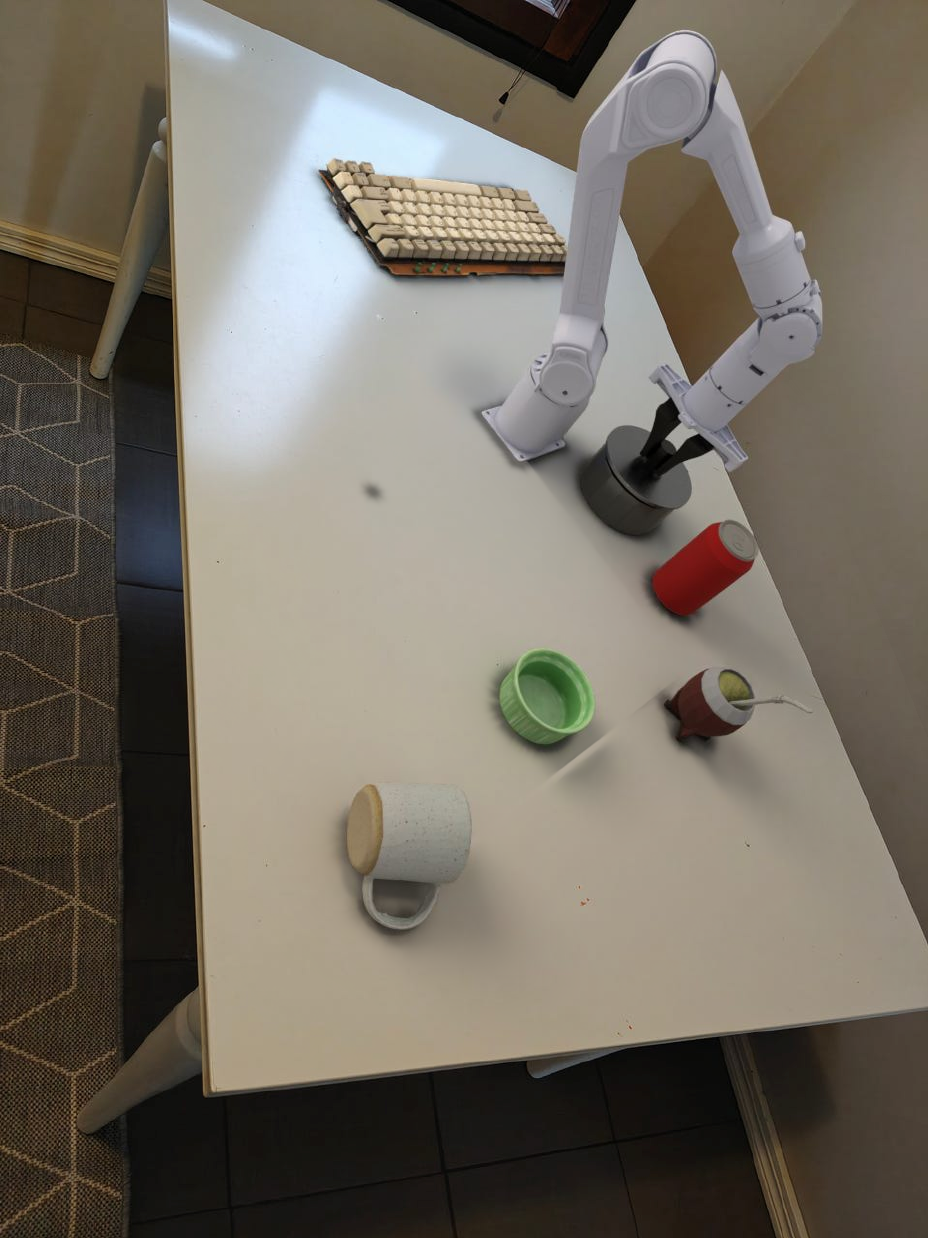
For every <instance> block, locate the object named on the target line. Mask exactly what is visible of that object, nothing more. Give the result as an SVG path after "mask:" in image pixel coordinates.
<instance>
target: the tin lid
mask: <svg viewBox="0 0 928 1238" xmlns="http://www.w3.org/2000/svg"><path fill="white" fill-rule="evenodd" d="M650 433H651V431H649V430H647V429H645V428H643V427H640V426H636V425H632V424H631V425H630V424H623V425H619V426H616V427H615V428H613V429H612V430H611V431H610V432H609V434H608V435H607V437H606V440H605V443H606V444H605V443H604V444H605V450H606V456H607V459H608V462H609V464H610V466H611V468H612V470H613V472H614V473H615V475H616V477H617V478H618V479H619V480H620V482H621V483H622V484H623V485H624V486H625V487H626V488H627V489H628V490H629V491H630V492H631V493H632V494H633V495H635V496H636V497H637V498H639V499H640V500H642V501H643V502H645V503H647V504H649V505H651V506H653V507H656V508H659V509H663V510H673V511H674V510H675V511H676V510H679V509H681V508H682V507H684V506H685V505H686V504H687V503H688V502H689V501H690V499H691V496H692V490H693V486H692V480H691V476H690V474H689V471H688V469H687V467H686V465H685V463H684V462H682V463H680V464H678V465H676V466H675V467H673V468H672V469H670V470H669V471H668V472H667V473H665V474H663V475H661V476H658V475H657V474H656V473H655V472H656V471H657V469H658V468H659V467H660V466H662V465H663V464H664V463H665V462H666V461H667V460H669V459H670V458H671V457H672V456H673V455H674V454H675V453H676V451H677V450H678V449H677V447H676V446H675V445H674V443H673V442H671V441H670V440H668V439H667V438H666V439H663V440H661V441H660V442H659V443H658V444H657V445H656V446H655V447H654V448H653V449H652V450H651V451H650V452H649V453H648V454H647V456H645V457H642V456H641V455H640V452H641V450H642V449H643V447H644V445H645V443H646V442H647V439H648V437H649V435H650Z"/></svg>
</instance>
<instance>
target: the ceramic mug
mask: <svg viewBox="0 0 928 1238" xmlns="http://www.w3.org/2000/svg"><path fill="white" fill-rule="evenodd" d="M346 829H347V831H346V832H347V833H346V844H347V846H346V847H347V854H348V857H349V861H350V864H351V865H352V867H353V869H354V870H355V871H356V872H357V874H360V875H362V876H363V882H362V886H361V887H362V896H363V903H364V906H365V909H366V911H367V912H368V914H369V916H370V917H371V918H372V919H373V920H374V921H376V922H377V923H379V924H380V925H382V926H384V927H386V928H389V929H393V930H401V931H402V930H409V929H414V928H415V927H418V925H420V924H421V923H422V922H423V921H424V920H425V919H427V917H428V916H429V915H430V914H431V912H432V910H433V908H434V907H435V904H436V902H437V899H438V896H439V892H440V890H441V885H443V884H445V885H448V884H453V883H455V882H456V881H457V880H458V879H459V878H460V877H461V875H462V874H463V872H464V870H465V868H466V866H467V862H468V860H469V856H470V852H471V845H472V836H473V822H472V812H471V807H470V802H469V801H468V797H467V795H466V793H465V792H464V790H463V789H462V788H461V787H460V786H458V785H455V784H447V783H446V784H442V783H440V784H437V783H413V782H412V783H409V782H408V783H404V782H386V781H385V782H382V781H381V782H376V783H375V782H374V783H373V782H372V783H367V784H366V785H364V786H362V787H361V788H360V789H359V790H358V791H357V792H356V794H355V796H354V797H353V799H352V802H351V805H350V809H349V813H348V818H347V828H346ZM374 880H390V881H409V882H416V883H428V884H429V888H428V891H427V893H426V896H425V899H424V901H423V903H422V905H421V906H420V908H419V909H418V910H417V912H416V913H415V914H414V915H412V916H409V917H406V918H405V917H397V916H391V915H389V914H388V913H386V912H380V911H378V909H377V908H376V905H375V903H374V895H373V888H374V884H373V883H374Z"/></svg>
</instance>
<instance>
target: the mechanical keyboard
mask: <svg viewBox="0 0 928 1238" xmlns="http://www.w3.org/2000/svg"><path fill="white" fill-rule="evenodd" d="M325 166H326V169H318V170H317V172H318V173H319V175H320V176H321V178H322V179H323V180H324V182H325V183H326V185H327V187H328V188H329V190H330V191H331V193H332V197H331V199H332V201H333V202H334V204H335V205H336V206H337V207H336V210H337V211H340V213H341V215H342V218H343V221H344V222H347V223H348V225H349V227H350V229H351V230H352V232H357V233H358V234H359V235H360V237H361V238H362V240H363V242H364V243H365V246H367V248H368V250H370V252H371V254H372V255H373V257H374V258H375V261H376V262H377V263H378V264H379V266H384V267H387V268H388V269H389V270H390V272H391V273H392V274H393V275H403V276H404V275H405V276H407V275H408V276H470V273H476V275H477V276H478V277H479V276H482V275H497V274H518V275H531V276H536V275H547V276H549V275H559V276H562V275H563V276H564V271H565V263H566V255H567V247H568V245H566V242H567V241H566V239H565V238H564V237H563V235H561V234H557V230H556V228H555V227H554V225H552V224H551V223H548V222H549V221H548V219H547V217H546V215H545V214H544V213H540V208H539V206H538V203H537V202H535V201H532V197H531V194H530V192H529V191H528V190H525V189H517V188H516V189H514V188H511V187H498V188H496V187H494V186H492V185H491V186H489V185H478V184H475V183H467V182H459V181H451V180H443V179H433V178H421V177H412V178H409V177H407V176H399V175H391V176H389V175H385V174H376V173H375V172H376V171H375V169H374V166H373V164H372V163H371V162H370V161H364V160H362V161H361V162H360V163H359V164H358V162H357V161H356V160H351V159H347V160H345V162H344V160H343V159H340V158H336V157H333V158H332V159H330V160H329V162H328V163H326V164H325Z"/></svg>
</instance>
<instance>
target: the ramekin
mask: <svg viewBox="0 0 928 1238" xmlns="http://www.w3.org/2000/svg"><path fill="white" fill-rule="evenodd" d="M499 704H500V708H501V711H502V714H503V717H504V718H505V719H506V721H507V724H508V725H510V727H511V728H512V729H513V730H514V731H515V732H516V733H517V734H518V735H519V736H520V737H522V738H524V739H526V740H527V741H529V742H532V743H534V744H539V745H550V744H551V745H552V744H554V743H557V742H559V741H561V740H562V739H564V738H566V737H567V736H571V735H574V734H576V733H579V732H581V731H583V730H584V729H585V728H587V726H588V725H589V724H590V723H591V721H592V719H593V717H594V714H595V709H596V699H595V693H594V689H593V686H592V683H591V682H590V680H589V678H588V676H587V675H586V673H585V671H584V670H583V669H582V668H581V666H580V665H579V664H578V663H577V662H576V661H575V660H573V659H572V658H570V657H569V656H567V655H566V654H565V653H563V652H560V651H558V650H555V649H552V648H545V647H539V648H534V649H529V651H527V652H525V653H524V654H523V655H522V656H521V657H520V658H519V659H518V660H517V662H516V663H515V665H514V667H513V668H512V669H511V671H510V672H509V673H508V674H507V675H506V676H505V678H504V679H503V681H502V683H501V685H500V688H499Z"/></svg>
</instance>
